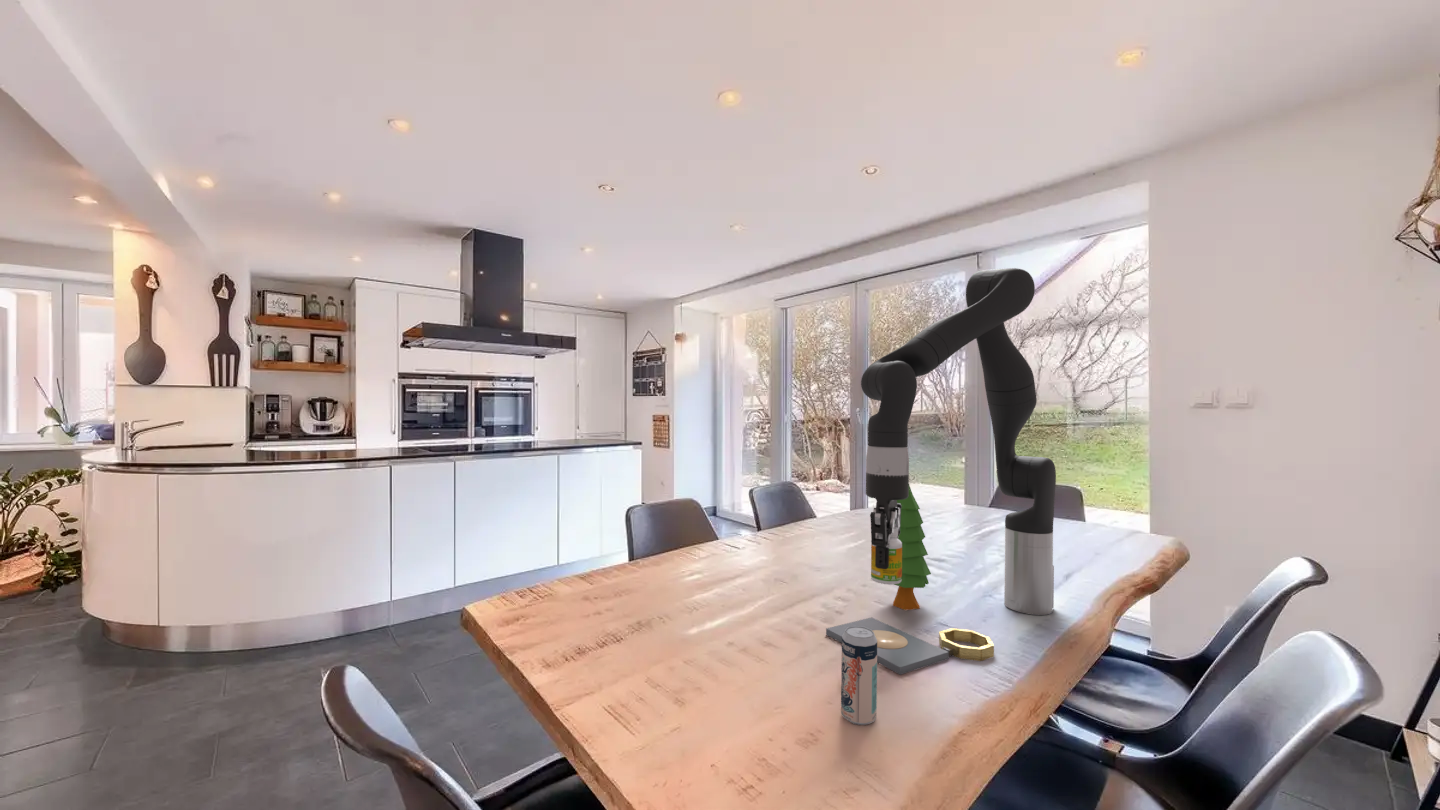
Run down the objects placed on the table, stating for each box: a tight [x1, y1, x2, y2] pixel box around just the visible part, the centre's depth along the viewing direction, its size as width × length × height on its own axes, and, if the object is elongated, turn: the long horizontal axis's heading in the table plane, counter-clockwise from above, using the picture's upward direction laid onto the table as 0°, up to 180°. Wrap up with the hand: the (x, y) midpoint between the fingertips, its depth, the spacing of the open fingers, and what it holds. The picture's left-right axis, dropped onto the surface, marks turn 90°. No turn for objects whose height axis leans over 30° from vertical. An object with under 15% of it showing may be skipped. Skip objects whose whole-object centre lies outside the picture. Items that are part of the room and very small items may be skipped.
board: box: [825, 616, 950, 676], centre depth 100 cm, size 12×18×1 cm, turn 30°
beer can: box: [840, 626, 878, 726], centre depth 77 cm, size 5×5×12 cm
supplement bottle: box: [870, 526, 902, 586], centre depth 100 cm, size 5×5×10 cm
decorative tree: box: [892, 485, 932, 611], centre depth 122 cm, size 10×9×30 cm
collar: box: [938, 627, 995, 662], centre depth 99 cm, size 11×9×2 cm
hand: (886, 563), depth 100 cm, fingers closed on supplement bottle, 5 cm apart
